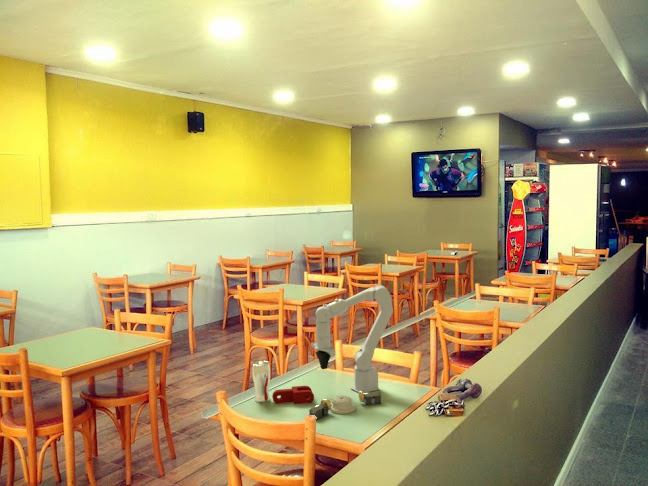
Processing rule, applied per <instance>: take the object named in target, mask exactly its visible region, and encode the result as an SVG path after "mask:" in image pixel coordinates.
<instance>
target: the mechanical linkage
mask: <svg viewBox="0 0 648 486" xmlns="http://www.w3.org/2000/svg"><path fill="white" fill-rule="evenodd" d="M272 400H273V402H274V403H275V404H277V405H278V404H279V405H280V404H289V403H293V405H294V406H296V405H302V404H303V405H304V404H312V403H313V402H314V400H315V395H314V392H313V391H312V388H311V387H310V386H308V385H297V386H296V385H294V386H291V388H282V389H276V390H275V391H273V393H272Z"/></svg>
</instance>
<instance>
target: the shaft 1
mask: <svg viewBox="0 0 648 486" xmlns="http://www.w3.org/2000/svg"><path fill="white" fill-rule="evenodd" d="M331 403H332V401H331V400H330V399H328V398H324V399H322V400H321V401H320V403H319V404H317V405H315V406H313V407H311V408H310V409H309V411H308V412H309V415H308V416H310V415H315V416H316V417H317V420H316V421H319V420H321V419H323V418H325V417H328V416H329V412H330V411H329V410H330V409H331Z"/></svg>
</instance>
